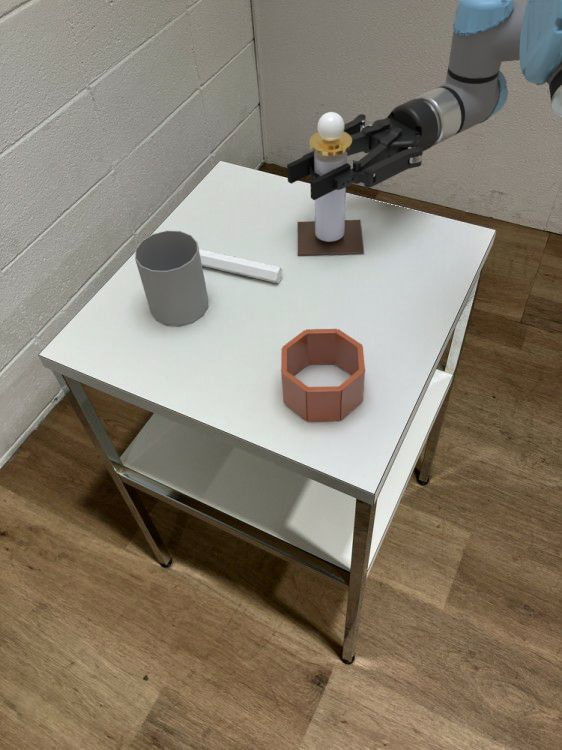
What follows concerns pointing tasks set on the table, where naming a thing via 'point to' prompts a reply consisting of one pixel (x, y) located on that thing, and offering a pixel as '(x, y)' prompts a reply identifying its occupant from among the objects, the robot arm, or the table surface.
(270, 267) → the marker
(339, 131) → the perfume bottle
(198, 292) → the cup
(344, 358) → the holder
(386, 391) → the table surface
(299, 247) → the coaster
